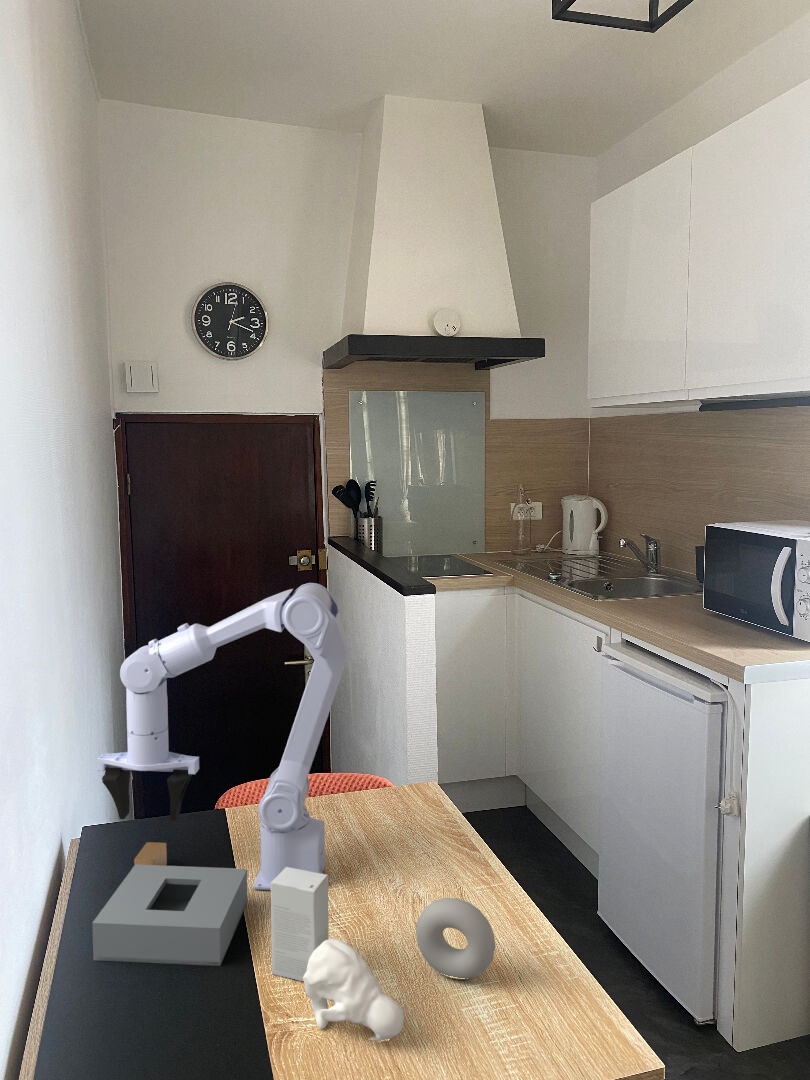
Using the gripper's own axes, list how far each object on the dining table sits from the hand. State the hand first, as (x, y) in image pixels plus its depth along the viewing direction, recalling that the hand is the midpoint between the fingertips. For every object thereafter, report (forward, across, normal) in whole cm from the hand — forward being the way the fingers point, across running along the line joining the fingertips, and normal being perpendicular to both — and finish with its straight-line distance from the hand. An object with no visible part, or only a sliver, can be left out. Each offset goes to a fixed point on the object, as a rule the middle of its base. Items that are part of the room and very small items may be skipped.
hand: (149, 817), depth 119 cm
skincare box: (+9, -26, +20) cm, 34 cm away
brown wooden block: (+9, 0, 0) cm, 9 cm away
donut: (+9, -45, +20) cm, 50 cm away
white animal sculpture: (+9, -34, +29) cm, 46 cm away
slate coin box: (+9, -8, +13) cm, 18 cm away
